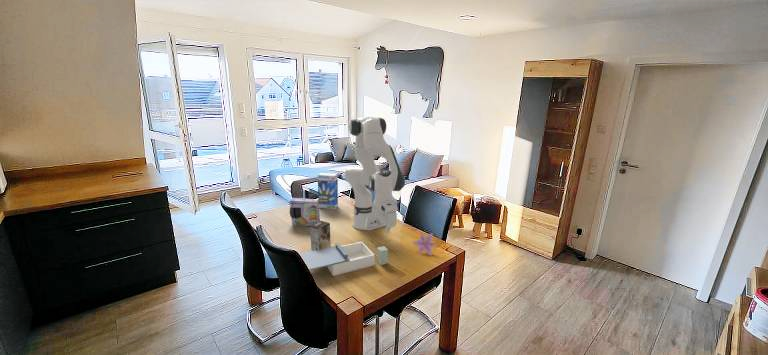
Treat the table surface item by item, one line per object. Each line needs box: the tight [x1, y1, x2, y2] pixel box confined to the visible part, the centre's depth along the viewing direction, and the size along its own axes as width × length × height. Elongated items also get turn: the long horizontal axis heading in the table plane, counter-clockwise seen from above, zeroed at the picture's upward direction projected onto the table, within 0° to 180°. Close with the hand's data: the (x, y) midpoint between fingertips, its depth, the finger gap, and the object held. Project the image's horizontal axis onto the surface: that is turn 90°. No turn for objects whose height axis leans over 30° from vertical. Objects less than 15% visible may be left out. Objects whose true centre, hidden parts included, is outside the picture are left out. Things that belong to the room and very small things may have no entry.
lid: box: [299, 242, 350, 271], centre depth 154 cm, size 22×16×3 cm
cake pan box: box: [289, 197, 321, 227], centre depth 203 cm, size 19×5×18 cm, turn 80°
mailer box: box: [326, 241, 376, 277], centre depth 161 cm, size 22×16×6 cm
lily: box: [412, 233, 437, 256], centre depth 175 cm, size 12×12×10 cm
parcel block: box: [376, 245, 389, 266], centre depth 162 cm, size 4×4×8 cm
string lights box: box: [317, 172, 339, 210], centre depth 234 cm, size 13×8×26 cm, turn 81°
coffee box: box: [309, 220, 332, 251], centre depth 171 cm, size 9×6×16 cm
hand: (382, 228), depth 158 cm, fingers open, 8 cm apart
